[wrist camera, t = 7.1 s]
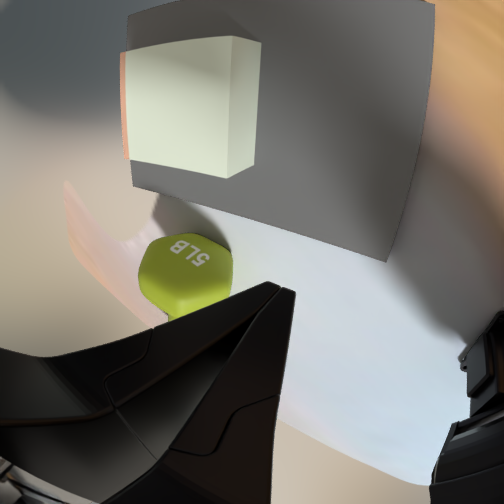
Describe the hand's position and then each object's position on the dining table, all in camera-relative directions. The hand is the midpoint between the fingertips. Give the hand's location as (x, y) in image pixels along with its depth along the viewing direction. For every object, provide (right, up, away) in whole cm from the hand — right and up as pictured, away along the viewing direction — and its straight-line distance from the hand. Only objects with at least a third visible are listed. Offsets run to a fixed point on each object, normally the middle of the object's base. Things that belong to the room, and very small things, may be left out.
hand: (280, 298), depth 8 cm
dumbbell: (-5, -3, +22) cm, 23 cm away
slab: (-1, +9, +7) cm, 12 cm away
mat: (-1, +11, +9) cm, 14 cm away
